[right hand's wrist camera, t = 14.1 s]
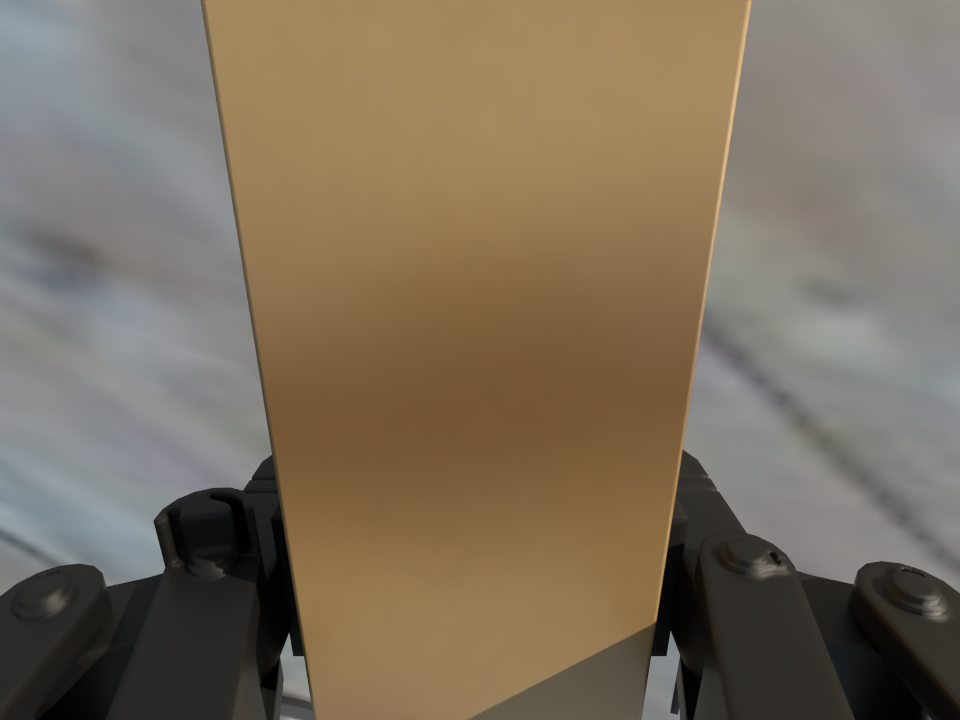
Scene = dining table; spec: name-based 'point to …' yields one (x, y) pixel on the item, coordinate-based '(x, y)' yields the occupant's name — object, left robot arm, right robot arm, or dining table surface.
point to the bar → (476, 329)
